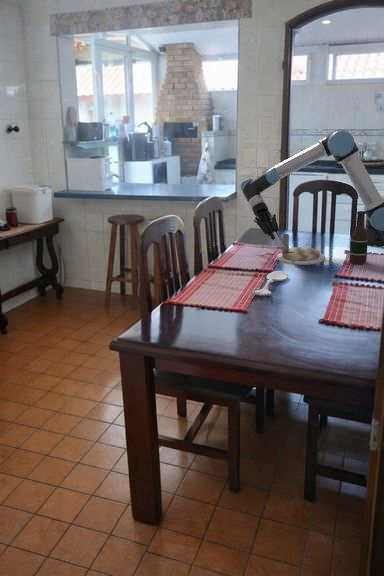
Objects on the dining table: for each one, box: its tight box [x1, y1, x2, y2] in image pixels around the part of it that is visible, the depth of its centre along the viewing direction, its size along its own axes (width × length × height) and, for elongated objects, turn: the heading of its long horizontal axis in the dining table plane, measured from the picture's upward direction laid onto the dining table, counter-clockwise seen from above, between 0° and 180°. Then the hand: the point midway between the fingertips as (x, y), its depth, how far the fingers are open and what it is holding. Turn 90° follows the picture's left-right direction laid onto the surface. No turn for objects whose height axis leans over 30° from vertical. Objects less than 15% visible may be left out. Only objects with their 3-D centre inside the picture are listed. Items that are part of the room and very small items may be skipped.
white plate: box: [276, 252, 326, 266], centre depth 251 cm, size 23×23×1 cm
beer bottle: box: [349, 210, 369, 265], centre depth 237 cm, size 8×8×24 cm
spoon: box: [248, 270, 289, 297], centre depth 212 cm, size 9×32×4 cm, turn 156°
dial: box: [281, 233, 321, 261], centre depth 249 cm, size 18×18×11 cm
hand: (278, 244), depth 253 cm, fingers closed
